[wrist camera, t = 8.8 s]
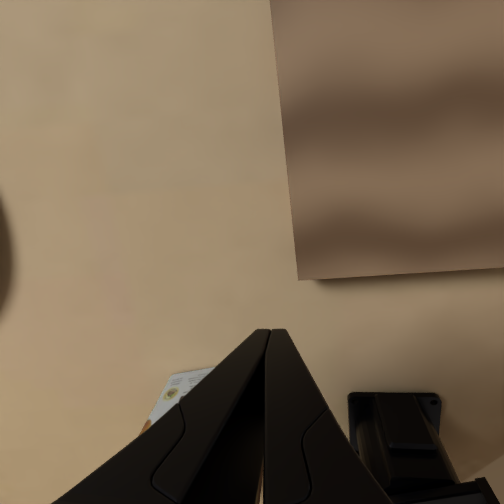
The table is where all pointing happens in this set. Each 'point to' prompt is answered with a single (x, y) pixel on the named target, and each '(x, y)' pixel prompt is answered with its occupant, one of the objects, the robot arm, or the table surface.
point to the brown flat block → (392, 134)
